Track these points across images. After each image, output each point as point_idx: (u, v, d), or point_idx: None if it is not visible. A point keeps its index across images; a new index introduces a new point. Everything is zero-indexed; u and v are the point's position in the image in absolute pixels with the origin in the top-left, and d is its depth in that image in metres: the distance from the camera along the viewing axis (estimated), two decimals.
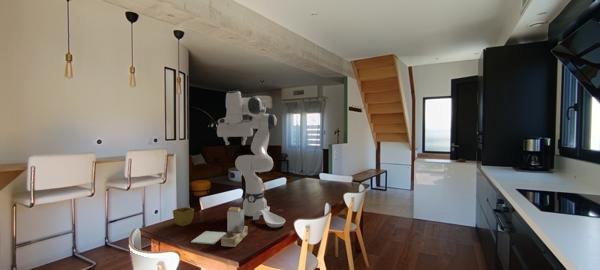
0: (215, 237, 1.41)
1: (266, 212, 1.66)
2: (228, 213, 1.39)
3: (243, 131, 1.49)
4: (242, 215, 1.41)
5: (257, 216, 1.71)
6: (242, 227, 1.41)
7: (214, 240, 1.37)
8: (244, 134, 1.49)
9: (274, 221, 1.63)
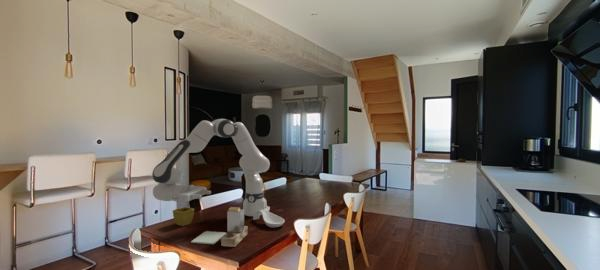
0: (215, 237, 1.41)
1: (266, 212, 1.67)
2: (228, 213, 1.39)
3: None
4: (242, 215, 1.41)
5: (257, 216, 1.71)
6: (242, 227, 1.41)
7: (214, 240, 1.37)
8: None
9: (273, 221, 1.63)
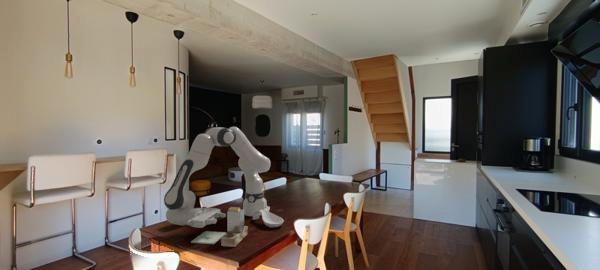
0: (215, 237, 1.41)
1: (265, 212, 1.67)
2: (228, 213, 1.39)
3: None
4: (242, 215, 1.41)
5: (257, 216, 1.72)
6: (242, 227, 1.41)
7: (214, 240, 1.37)
8: None
9: (273, 221, 1.64)
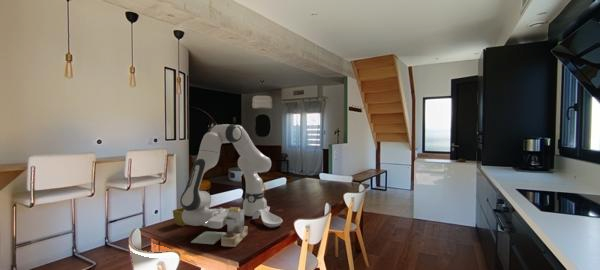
0: (215, 237, 1.41)
1: (264, 212, 1.67)
2: (228, 213, 1.39)
3: None
4: (242, 215, 1.41)
5: (256, 215, 1.72)
6: (242, 227, 1.41)
7: (214, 240, 1.37)
8: None
9: (272, 221, 1.64)
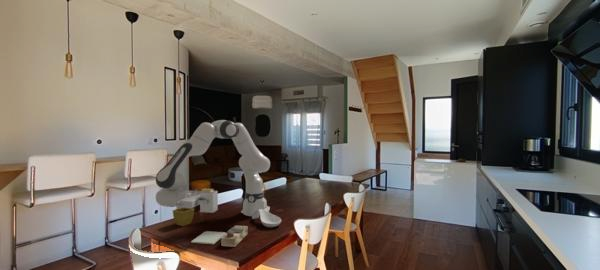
0: (215, 237, 1.41)
1: (264, 211, 1.67)
2: (201, 194, 1.40)
3: None
4: (215, 196, 1.41)
5: (256, 215, 1.73)
6: (215, 208, 1.42)
7: (214, 240, 1.37)
8: None
9: (271, 221, 1.64)
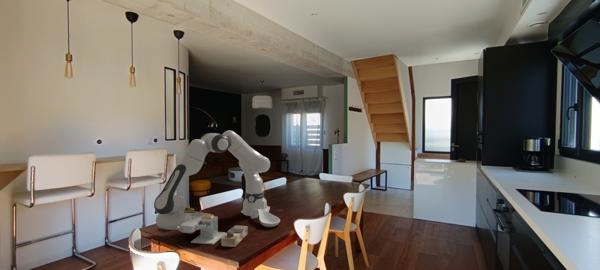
0: (215, 237, 1.41)
1: (263, 211, 1.68)
2: (201, 220, 1.40)
3: None
4: (215, 222, 1.42)
5: (255, 215, 1.73)
6: (215, 234, 1.42)
7: (214, 240, 1.37)
8: None
9: (270, 221, 1.64)
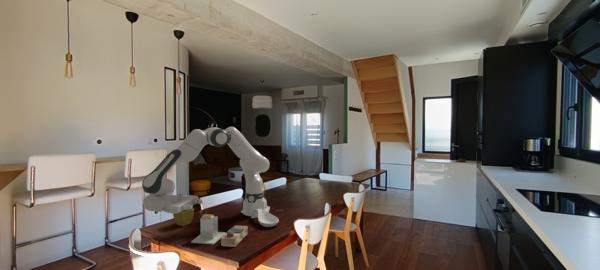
0: (215, 237, 1.41)
1: (262, 211, 1.68)
2: (201, 220, 1.40)
3: None
4: (215, 222, 1.42)
5: (255, 214, 1.74)
6: (215, 234, 1.42)
7: (214, 240, 1.37)
8: None
9: (269, 220, 1.64)
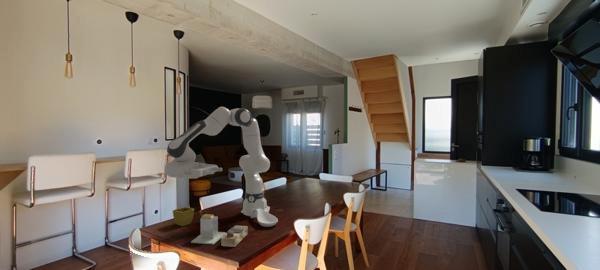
0: (215, 237, 1.41)
1: (262, 211, 1.69)
2: (201, 220, 1.40)
3: None
4: (215, 222, 1.42)
5: (255, 214, 1.74)
6: (215, 234, 1.42)
7: (214, 240, 1.37)
8: (201, 175, 1.42)
9: (268, 220, 1.65)
